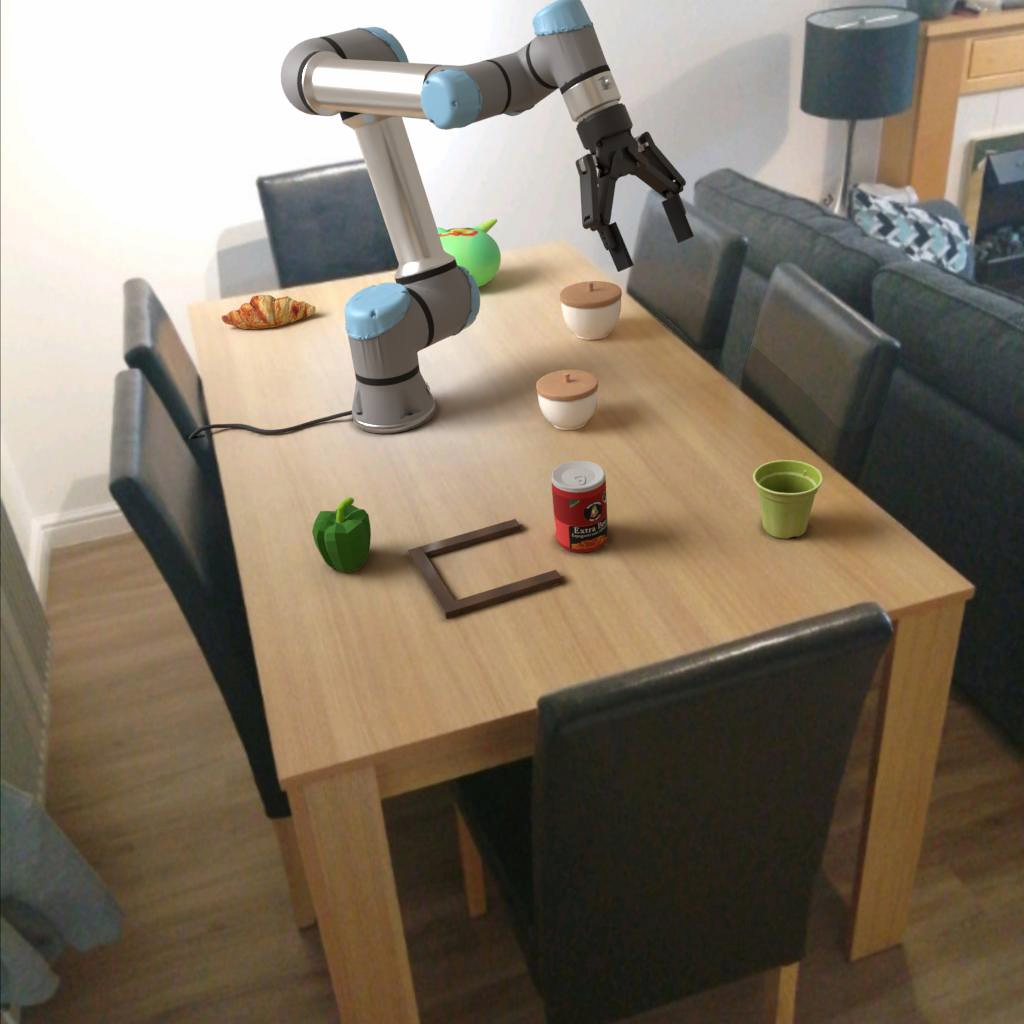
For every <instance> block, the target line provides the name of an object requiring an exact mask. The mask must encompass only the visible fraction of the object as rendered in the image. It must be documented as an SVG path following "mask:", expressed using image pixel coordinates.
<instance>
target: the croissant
mask: <svg viewBox="0 0 1024 1024" xmlns="http://www.w3.org/2000/svg"><path fill="white" fill-rule="evenodd" d="M316 311H317V309H316V306H315V305H311V304H310V303H308V302H306V301H304V300H301V301H300V300H299V301H298V300H295V299H292V297H289V296H287V295H286V296H282V297H276V298H275V296H273V295H270V294H257V295H253V296H252V297H251V298H250V301H249V302H245V303H243V304H241V305H240V307H239V308H238V309H233V310H230V311H229V312H228V313H227V314H224V315H221V321H222V322H223V323H224V324H226V325H229V326H233V327H236V328H238V329H244V330H250V329H251V330H263V329H266V328H267V329H269V328H276V327H281V326H283V325H287V324H288V323H294V322H296V321H300V320H301V319H302V318H304V319H305V318H309V317H311V316H313V315H314V314H315V313H316Z"/></svg>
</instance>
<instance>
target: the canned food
mask: <svg viewBox="0 0 1024 1024" xmlns="http://www.w3.org/2000/svg"><path fill="white" fill-rule="evenodd" d="M606 478H607V477H606V471H605V468H603V467H602V466H601V465H600V464H598V463H596V462H593V461H588V460H571V461H567V462H564V463H561V464H559V465H558V466H556V467H555V468H554V469H553V470H552V472H551V479H550V480H551V482H550V483H551V492H552V493H551V494H552V507H553V518H554V521H553V522H554V531H555V538H556V541H557V543H558V545H559V546H560V547H561V548H562V549H565V550H566V551H569V552H573V553H579V554H581V553H582V554H583V553H590V552H595V551H597V550H598V549H600V548H602V547H603V546H604V545H605V544H606V542H607V539H608V536H609V526H608V523H609V522H608V500H607V480H606Z"/></svg>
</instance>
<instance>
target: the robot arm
mask: <svg viewBox="0 0 1024 1024" xmlns="http://www.w3.org/2000/svg"><path fill="white" fill-rule="evenodd" d="M531 24H532V27H533V29H534V34H535V37H534V38H532V40H531V41H529V42H527V44H525V45H523V46H522V47H521V48H519V49H518V50H516V51H514V52H511V53H508V54H503V55H500V56H496V57H493V58H489V59H484V60H481V61H478V62H473V63H469V64H464V65H463V64H462V65H454V64H453V65H452V64H437V63H421V62H420V63H419V62H409V61H410V60H409V58H408V56H407V53H406V51H405V49H404V47H403V45H402V44H401V42H400V40H398V38H397V37H395V36H394V34H393V33H390V32H388V30H387V29H384V28H382V27H379V26H368V27H357V28H352V29H349V30H344V31H340V32H336V33H331V34H327V35H323V36H319V37H311V38H308V39H305V40H303V41H301V42H299V43H297V44H296V45H295V46H294V47H292V48H291V49H290V50H289V51H288V52H287V54H286V55H285V57H284V59H283V62H282V65H281V69H280V85H281V88H282V91H283V93H284V95H285V97H286V99H287V100H288V102H289V103H290V104H291V105H292V106H293V107H294V108H295V109H296V110H298V111H299V112H302V113H304V114H307V115H311V116H320V117H334V116H337V115H339V116H340V119H341V122H342V124H343V125H345V126H347V127H349V128H350V129H352V131H354V134H355V136H356V139H357V143H358V145H359V148H360V151H361V155H362V159H363V161H364V163H365V167H366V170H367V172H368V176H369V178H370V182H371V185H372V188H373V190H374V191H373V192H374V193H375V196H376V200H377V202H378V205H379V209H380V211H381V215H382V217H383V221H384V224H385V226H386V231H387V233H388V236H389V238H390V242H391V246H392V248H393V250H394V251H393V252H394V254H395V257H396V260H397V263H398V267H397V269H396V271H395V274H394V276H393V277H394V280H395V282H382V283H379V284H377V285H375V284H371V285H370V286H367V287H364V288H362V289H361V290H358V291H357V292H355V293H354V294H353V295H352V296H351V297H349V299H348V300H347V302H346V303H345V306H344V319H345V321H344V322H345V323H344V325H345V327H344V328H345V332H346V334H347V337H348V343H349V348H350V354H351V359H352V366H353V370H354V376H355V387H354V392H353V400H352V405H351V406H352V408H351V410H347V411H343V412H339V413H336V414H332V415H328V416H324V417H321V418H316V419H313V420H309V421H306V422H303V423H300V424H297V425H293V426H290V427H289V426H288V427H285V428H280V429H279V428H277V429H264V428H259V427H256V426H252V425H249V424H244V423H213V424H207V425H203V426H200V427H198V428H196V429H194V431H193V432H192V433H191V434H190V435H189V436H188V440H193V439H194V438H195V437H196V436H197V435H198V434H200V433H202V432H203V431H204V432H205V431H207V430H211V429H212V430H213V429H232V428H233V429H235V428H236V429H244V430H248V431H251V432H254V433H258V434H262V435H275V434H285V433H290V432H293V431H297V430H300V429H303V428H308V427H311V426H314V425H317V424H320V423H325V422H328V421H332V420H335V419H339V418H344V417H347V416H352V421H353V424H354V425H355V427H357V428H358V429H360V430H362V431H364V432H367V433H371V434H372V433H373V434H395V433H402V432H405V431H409V430H414V429H416V428H418V427H420V426H422V425H424V424H427V422H429V421H430V420H431V419H433V417H434V415H435V413H436V402H435V399H434V396H433V394H432V392H431V387H430V385H429V383H428V381H427V380H425V379H424V377H423V375H422V372H421V368H420V361H419V354H418V352H421V351H422V350H424V349H427V348H429V347H430V346H433V345H435V344H436V343H439V342H441V341H443V340H445V339H447V338H450V337H454V336H457V335H458V334H460V333H461V332H462V331H464V330H465V329H468V328H469V327H471V325H473V323H474V322H475V321H476V320H477V316H478V315H479V313H480V309H481V294H480V289H479V288H480V287H478V285H477V282H476V280H475V279H474V277H473V275H469V271H468V270H467V269H466V268H464V267H462V266H459V265H457V263H456V259H455V257H454V256H452V255H450V254H449V253H447V252H445V251H444V249H443V246H442V243H441V239H440V236H439V233H438V230H437V227H438V226H437V224H436V221H435V218H434V214H433V211H432V207H431V204H430V202H429V199H428V196H427V192H426V189H425V185H424V183H423V180H422V179H423V178H422V177H421V173H420V170H419V167H418V164H417V160H416V157H415V154H414V151H413V148H412V145H411V141H410V138H409V135H408V132H407V129H406V125H405V123H404V120H403V118H408V119H418V120H425V121H427V120H428V122H430V123H431V124H433V125H434V126H435V128H437V129H440V130H445V131H449V130H453V129H462V128H465V127H467V126H469V125H472V124H475V123H478V122H480V121H484V120H487V119H490V118H493V117H496V116H501V115H506V116H509V117H516V116H519V115H521V114H523V113H525V112H526V111H530V110H531V109H533V108H535V106H536V105H538V103H540V102H542V100H544V99H545V98H547V97H548V96H550V95H551V94H553V93H554V92H555V91H557V90H559V91H560V94H561V96H562V98H563V101H564V103H565V106H566V108H567V111H568V113H569V115H570V118H571V120H572V122H574V123H577V125H576V128H575V130H576V132H577V135H578V137H579V139H580V142H581V144H582V147H583V149H585V150H586V151H589V153H586V154H585V155H583V156H582V157H579V158H578V159H576V160H575V167H576V170H577V173H578V176H579V190H580V191H579V193H580V209H581V211H580V212H581V225H582V228H583V229H584V230H588V229H589V230H590V231H591V232H596V231H597V233H598V235H599V238H600V240H601V242H602V244H603V247H604V249H605V250H606V251H608V252H609V255H610V257H611V259H612V262H613V264H614V266H615V269H616V271H617V273H620V272H622V271H624V270H626V269H629V268H631V267H633V266H635V264H634V262H633V259H632V256H631V255H630V252H629V250H628V247H627V245H626V243H625V240H624V238H623V235H622V233H621V231H620V228H619V226H618V224H617V222H616V221H614V222H612V223H611V220H612V219H611V218H612V212H613V205H614V198H615V191H616V185H617V184H616V183H617V181H618V180H619V179H621V177H627V176H628V175H630V176H634V177H636V178H638V179H639V180H640V181H642V182H643V183H645V185H647V186H648V187H650V188H651V189H652V190H653V191H655V192H656V193H657V194H658V195H660V196H661V197H662V198H664V200H663V201H661V205H662V208H663V209H664V213H665V215H666V217H667V220H668V222H669V225H670V227H671V230H672V232H673V235H674V236H675V239H676V242H677V244H680V243H682V242H685V241H687V240H689V239H692V238H694V237H695V235H694V233H693V230H692V227H691V225H690V223H689V220H688V218H687V216H686V215H687V211H686V208H685V205H684V203H683V200H682V198H681V195H680V193H682V192H684V190H685V188H684V187H685V186H686V185H687V181H686V179H685V178H684V176H683V175H682V174H681V173H680V172H679V171H678V170H677V168H676V167H675V166H674V165H673V163H671V161H670V160H669V159H668V158H667V156H666V155H665V154H664V153H663V152H662V151H661V150H660V148H659V147H658V146H657V144H656V143H655V142H654V139H653V138H652V135H651V133H650V132H649V131H644V132H643V133H641V134H639V135H638V136H636V137H634V136H633V134H632V128H633V126H634V124H633V122H632V119H631V116H630V114H629V111H628V109H627V106H626V105H625V104H624V103H622V102H620V101H621V99H622V94H621V93H620V90H619V88H618V86H617V83H616V81H615V78H614V75H613V73H612V71H611V67H610V66H609V64H608V62H607V60H606V57H605V54H604V51H603V48H602V46H601V43H600V40H599V37H598V34H597V33H596V32H597V31H596V30H595V26H594V23H593V21H592V20H591V19H590V16H589V14H588V12H587V10H586V8H585V5H584V4H583V2H582V0H554V1H553V2H551V3H550V4H548V5H545V7H543V8H541V9H540V10H539V11H537V12H536V13H535V15H534V16H533V18H532V23H531Z"/></svg>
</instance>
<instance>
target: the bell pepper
mask: <svg viewBox="0 0 1024 1024" xmlns="http://www.w3.org/2000/svg"><path fill="white" fill-rule="evenodd" d="M354 503H355V499H354V498H353V497H351V496H350V497H346V498H345V499H344V500H342V501H341V502H340V503H339V504H338V506H337V508H336V509H335V510H321V511H319V513H318V515H317V516H316V519H315V520H314V522H313V526H312V530H311V533H312V537H313V541H314V544H315V546H316V548H317V550H318V553H319V554H320V556H321V558H322V560H323V562H324V563H325V564H326V565H327V566H328V567H329V568H330V569H336V570H337V571H340V572H342V573H351V572H354V571H357V570H360V569H361V568H362V567H363V566H364V564H365V563H366V561H367V559H368V556H369V555H370V551H371V539H372V538H371V537H372V533H371V532H372V529H371V521H370V515H369V513H368V512H367V511H366V509H365V508H359V507H357V506H356V505H353V504H354Z"/></svg>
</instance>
